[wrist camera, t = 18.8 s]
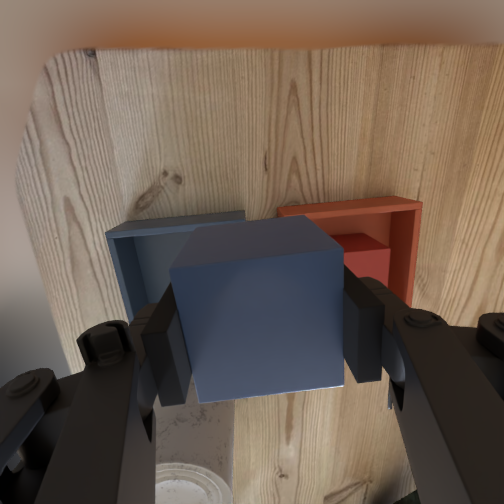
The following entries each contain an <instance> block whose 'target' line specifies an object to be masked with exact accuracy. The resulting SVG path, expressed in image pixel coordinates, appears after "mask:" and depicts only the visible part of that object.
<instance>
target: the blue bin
mask: <svg viewBox="0 0 504 504" xmlns="http://www.w3.org/2000/svg"><path fill="white" fill-rule="evenodd" d="M237 222H246V217H245V210H242V211H231V212H221V213H210V214H200V215H189V216H179V217H168V218H158V219H147V220H137V221H126V222H124V223H122V224H120V225H118V226H116V227H114V228H112V229H111V230H109V231H107V232H105V235H106V239H107V243H108V246H109V250H110V254H111V257H112V261H113V265H114V269H115V272H116V276H117V280H118V283H119V287H120V291H121V294H122V298H123V302H124V306H125V309H126V313H127V317H128V320H129V324H130V323H131V321H132V320H133V318H134V317H135V315H136V314H137V312H138V311H139V310H140V309H142V308H143V307H144V306H146V305H147V304H150V303H159V301H160V299H161V297H162V296H163V294H164V292H165V290H166V289H167V287H168V285H169V283H170V282H171V279H170V275H169V271H168V269H169V267H170V266H171V264H172V263H173V261H174V260H175V258H176V257H177V255H178V254H179V252H180V251H181V249H182V248H183V246H184V245H185V243H186V242H187V240H188V239H189V237H190V236H191V234H192V233H193V231H194V230H195V228H196V227H204V226H212V225H221V224H229V223H237Z"/></svg>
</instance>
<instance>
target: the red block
mask: <svg viewBox="0 0 504 504" xmlns="http://www.w3.org/2000/svg"><path fill="white" fill-rule="evenodd" d="M330 237H331V238H332V239H334V240H335V241H336V242H337V243H338V244H340V245H341V246H342V247H343V248H344V264H345V265H346V266H347V267H348V268H349V269H350V270H351V271H352V272H353V273H354V274H355V275H356V276H357V277H358V278H359V277H367V276H369V277H372V278H374V279H376V280H379V281H380V282H382V283H383V284H384V285H385V286H386V287H388V275H389V263H390V250H391V249H390V248H389V247H387V246H385V245H384V244H382V243H380V242H379V241H377V240H375V239H374V238H372V237H370V236H368V235H367V234H365V233H354V234H343V235H332V236H330Z"/></svg>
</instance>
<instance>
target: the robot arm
mask: <svg viewBox="0 0 504 504" xmlns="http://www.w3.org/2000/svg"><path fill="white" fill-rule="evenodd" d="M76 341H77V344H78V346H79V349H80V352H81V354H82V357H83V359H84V362H85V365H86V366H85V368H84V371H82V372H79V373H76V374H73V375H70V376H67V377H64V378H61V379H58V380H57V379H56V376H55V374H54V372H53V370H50V369H49V368H40V369H36V370H32V371H28V372H25V373H24V374H21V375H18V376H17V377H16V378H14V379H13V380H11V381H9V382H8V383H6V384H5V385H4V386H3V387H1V388H0V504H155V485H156V416H155V412H154V409H153V405H154V402H155V399H156V396H157V394H158V397H159V401H160V404H161V407H166V406H174V405H183V404H185V403H186V398H187V394H188V389H189V385H190V381H191V376H192V371H191V366H190V362H189V358H188V353H187V349H186V345H185V340H184V336H183V332H182V327H181V323H180V318H179V314H178V310H177V306H176V301H175V297H174V292H173V288H172V284H171V282H170V283H169V285H168V287H167V289H166V290H165V292H164V294H163V296H162V297H161V299H160V301H159V303H150V304H147V305H146V306H144V307H143V308H142V309H140V310H139V311H138V312H137V314H136V315H135V317H134V318H133V320H132V321H131V323H130V324H129V326H128V323H127V322H125V321H123V320H113V321H107V322H104V323H101V324H98V325H96V326H94V327H92V328H90V329H88V330H86V331H85V332H84V333H82V334H81V335H80V336H79V338H78V339H77V340H76ZM343 357H344V358H345V360H346V362H347V364H348V366H349V368H350V370H351V372H352V374H353V376H354V378H355V379H356V381H357V383H364V382H372V381H381V375H382V366H383V367H384V369H385V370H386V372H387V373H388V375H389V391H388V409H392V403H393V406H394V409H395V413H396V416H397V420H398V423H399V427H400V431H401V434H402V438H403V441H404V445H405V448H406V452H407V456H408V459H409V463H410V466H411V470H412V473H413V477H414V480H415V484H416V488H417V491H418V495H419V498H420V502H421V504H504V313H487V314H483V315H482V316H481V317H480V318H479V321H478V326H477V328H473V327H460V326H449V325H448V324H447V323H446V321H445V320H444V319H442V318H441V317H440V316H438V315H436V314H434V313H432V312H430V311H426V310H422V309H415V308H410V307H409V306H408V305H407V304H406V303H405V302H403V301H402V300H401V299H400V298H399V297H398V296H397V295H395V294H393V292H392V291H391V290H390V289H387V287H386V286H385V285H384V284H383V283H382V282H380V281H379V280H376V279H374V278H372V277H369V276H367V277H359V278H358V277H357V276H356V275H355V274H354V273H353V272H352V271H351V270H350V269H349V268H348V267H347V266H346V265H345V264H344V288H343ZM16 451H17V453H18V454H19V456H20V458H21V461H20V463H19V464H18V465H17V467H16V468H15V469H14V470H13V471H10V470H9V468H8V466H7V464H8V462H9V461H10V460H11V458H12V457H13V456H14V454H15V453H16Z"/></svg>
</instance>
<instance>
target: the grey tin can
mask: <svg viewBox="0 0 504 504" xmlns="http://www.w3.org/2000/svg"><path fill="white" fill-rule="evenodd" d="M153 409H154V412H155V416H156V485H155V504H233V493H232V481H233V446H234V412H235V399H233V400H224V401H216V402H208V403H199V401H198V397H197V393H196V388H195V384H194V380H193V375H192V376H191V381H190V385H189V389H188V394H187V398H186V403H185V404H183V405H174V406H166V407H161V404H160V401H159V397H158V394H157V396H156V399H155V402H154V405H153Z"/></svg>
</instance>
